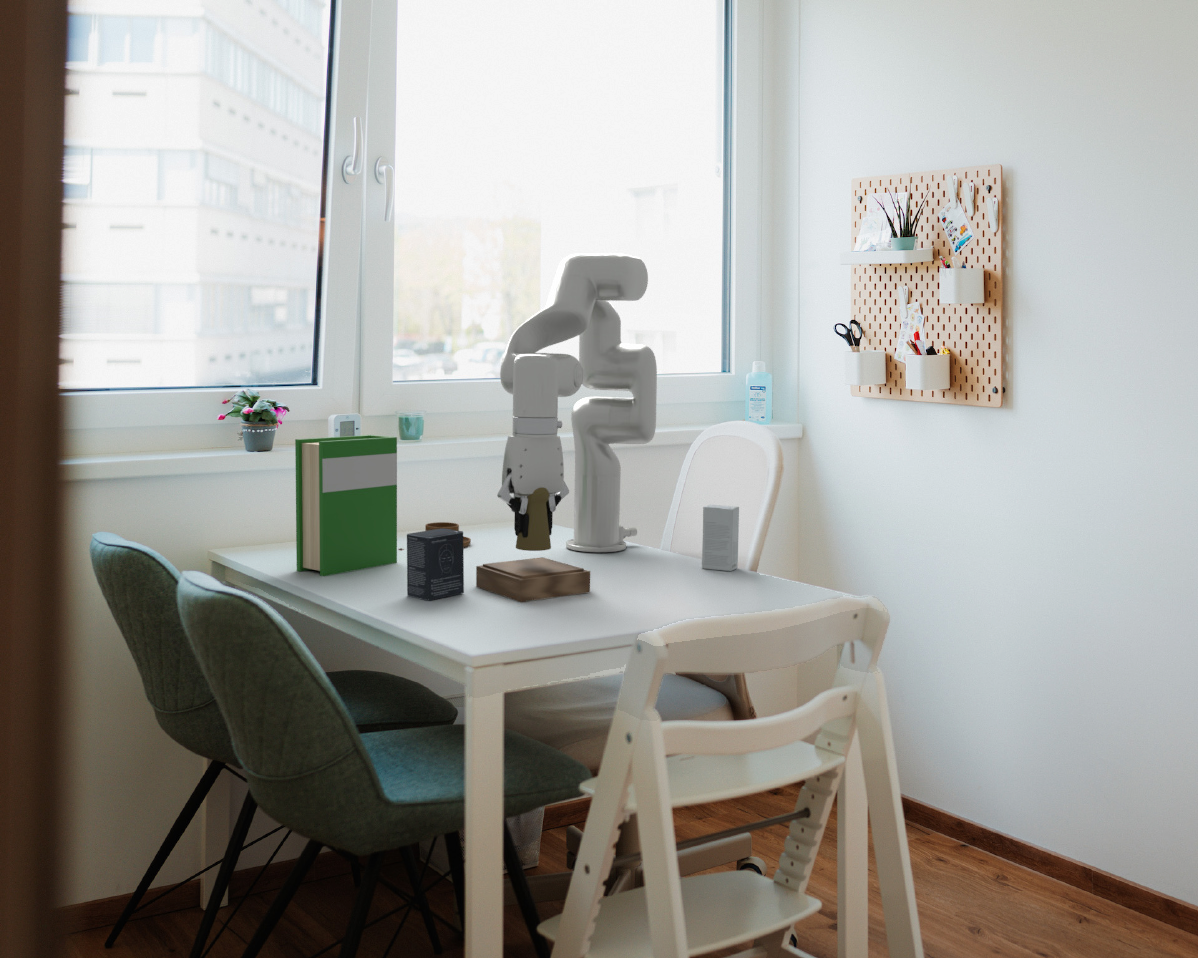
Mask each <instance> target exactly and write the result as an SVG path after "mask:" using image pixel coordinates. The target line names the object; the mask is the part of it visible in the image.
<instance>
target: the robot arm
mask: <svg viewBox="0 0 1198 958" xmlns="http://www.w3.org/2000/svg"><path fill="white" fill-rule="evenodd" d="M555 273H556V274H555V277H554V280H553V282H552V286H551V289H550V292H549V294H548V299H547V301H546V305H545V307H544V308H543V309H541V310H539V311H538V312H537V313H535V314H534V315H532V316H531V317H530V318H528V319H526V320H525V322H523V323H522V324H521V325H519V326H518V327H517V328H516V329H515V331H513V333H512V334H511V336H510V338H509V340H508V343H507V345H506V348H505V350H504V351H505V352H504V354H503V357H502V361H501V365H500V372H499V376H500V383H501V385H502V388H503V389H504V390H505V391H506V392H507V393H508V394H510V395H512V435H507V440H506V443H505V448H504V453H503V460H502V461H503V462H502V474H501V487H500V489H499V491H498V492H497V498H499V499H500V500H501V501H502V502H504V503H506V504H507V506H508V507H509V508H510V509H511V512H513V513H514V534H515V536H516V537H517V536H518V535H519V533H521V532H522V536H523V537H524V538H526V537H527V536H528V525H529V515H528V514H526V509H527V503H528V496H529V495H531V494H533V492H534V491H535V490H536V489H538V488H541V487H543V488H546V489H547V490H548V492H549V499H548V501H547V502H546V507H547V517H548V526H549V534H550V536H552V534H553V533H552V530H553V513H554V512H555V511H556V509H557V506H559V503H560V502H562V501H561V500H563V499H564V498H565V497H567V496H568V495H569V493H570V489H569V487H568V485H567V484H566V482H565V480H564V479H565V467H564V466H565V465H564V455H563V454H564V451H563V447H562V440H561V437H560V435H558V430H559V429H562V428H563V422H562V420H559V417H558V411H559V410H558V408H559V406H558V403H559V401H558V398H567V397H571V396H573V395H575V394H576V393H577V392H578V391H579V390H580V389H581V386H582V385H583V386H584V387H585V388H587V389H590V390H595V391H596V390H597V391H621V392H622V391H623V392H630V393H631V394H632V397H621V396H618V397H616V396H588V397H583V398H581V399H579V400H578V401H576V402H575V403H574V405H573V407H572V409H571V415H570V416H571V417H570V421H571V427H572V428H571V430H572V435H573V442H574V501H573V503H574V504H573V507H574V508H573V509H574V510H573V538H572V539H569V540H567V541H565V542H566V544H565V545H566V548H567V549H568V550H571V551H577V552H583V553H584V552H585V553H614V552H621V551H624V550H625V549H627V542H625V541H624V539H626V537H636V536H637V535H638V529H637V527H635V526H633V527H624V526H623V525H620V514H621V513H620V511H621V510H620V509H621V507H620V506H621V505H620V504H621V471H622V469H621V461H620V460H619V458H618V456H617V454H616V453H615V452H614V450H613V449H612V447H611V446H610V445H614V444H618V445H619V444H620V445H621V444H622V445H645V444H648V443H650V442H651V441H652V440H653V438H654V436H655V433H656V426H657V396H658V395H657V392H658V391H657V389H658V386H657V378H658V376H657V375H658V374H657V373H658V370H657V368H658V367H657V360H656V356H655V353H654V351H653V350H652V349H651V347H649V346H647V345H645V344H638V343H634V344H633V343H631V344H630V343H622V340H621V335H622V332H621V331H622V329H621V327H622V324H621V317H620V315H619V313H618V312H617V310H616V308H615V307H614V306H613V304H612V302H611V301H613V302H614V301H616V302H617V301H618V302H619V301H627V302H631V301H639V300H641V298H643V297H644V295H645V294H646V291H647V288H648V284H649V283H648V282H649V274H648V269H647V266H646V263H645V262H644V261H643V260H642V258H641V257H638V256H634V255H633V256H632V255H629V254H624V253H615V252H613V253H612V252H609V253H608V252H607V253H605V252H603V253H599V252H596V253H595V252H594V253H590V252H589V253H588V252H587V253H584V252H583V253H582V252H581V253H580V252H579V253H573V254H569V255H568V256H566V257H564V258H563V259H562V260H561V261H560V263H559V265H558V267H557V270H556V272H555ZM578 336H579V339H578V340H579V341H578V343H579V344H578V347H579V348H578V359H577V358H576V357H575V356H574V355H570V354H569V353H553V352H552V353H549V352H539V351H540V350H543V349H545V348H547V347H550V346H553V345H556V344H560V343H563V342H566V341H568V340H570V339H573V338H575V337H578ZM511 494H513V496H512V495H511ZM520 498H521V499H520Z"/></svg>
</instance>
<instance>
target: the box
mask: <svg viewBox="0 0 1198 958" xmlns="http://www.w3.org/2000/svg"><path fill="white" fill-rule="evenodd" d="M463 536H464V531H462V530H459V531H456V530H450V529H443V528H442V529H435V530H428V531H425V530H423V531H417V532H412V533H407V534H406V575H407V576H406V581H407V582H406V587H407V588H406V590H407V594H406V595H407V596H408V597H410V598H415V599H420V600H424V601H433V600H434V601H435V600H438V599H441V598H446V597H451V596H455V595H460V594H464V593H465V587H464V586H465V584H464V583H465V582H464V581H465V580H464V577H465V576H464V575H465V572H464V567H465V566H464V563H465V562H464V559H465V558H464V548H463Z"/></svg>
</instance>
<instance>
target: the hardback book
mask: <svg viewBox="0 0 1198 958" xmlns="http://www.w3.org/2000/svg"><path fill="white" fill-rule="evenodd" d="M294 444H295V448H294V449H295V453H294V454H295V527H296V528H295V529H296V530H295V533H296V534H295V535H296V538H295V539H296V541H295V542H296V543H295V544H296V545H295V546H296V547H295V548H296V572H304V571H309V570H314V571H318V572H319V576H320V577H327V576H332V575H337V574H338V575H339V574H343V573H347V572H348V573H349V572H354V571H361V570H363V569H365V570H366V569H370V568H375V567H381V566H386V565H391V564H397V562H398V437H396V436H387V435H385V436H384V435H377V434H376V435H375V434H373V435H372V434H366V435H364V434H363V435H350V436H349V435H348V436H346V435H345V436H330V437H316V438H315V437H313V438H297V439H295V440H294Z"/></svg>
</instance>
